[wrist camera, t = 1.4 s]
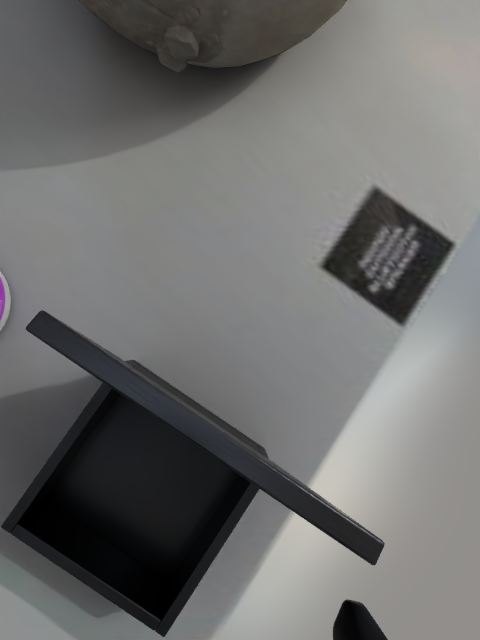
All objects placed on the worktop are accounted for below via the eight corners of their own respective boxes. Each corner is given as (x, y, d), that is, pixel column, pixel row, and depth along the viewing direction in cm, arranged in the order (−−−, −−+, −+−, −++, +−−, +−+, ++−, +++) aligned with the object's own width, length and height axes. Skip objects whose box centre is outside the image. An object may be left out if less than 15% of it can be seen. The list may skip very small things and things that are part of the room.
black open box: (173, 590, 22) (164, 638, 18) (36, 497, 22) (0, 527, 18) (265, 448, 23) (273, 467, 19) (133, 359, 23) (117, 361, 19)
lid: (375, 567, 8) (386, 543, 9) (23, 328, 8) (40, 308, 9) (271, 475, 19) (277, 464, 19) (111, 366, 19) (119, 357, 19)
